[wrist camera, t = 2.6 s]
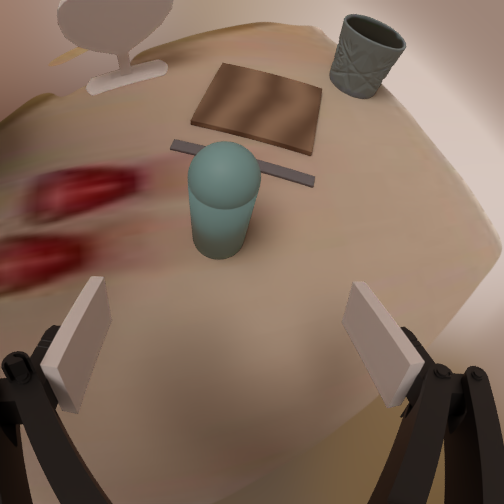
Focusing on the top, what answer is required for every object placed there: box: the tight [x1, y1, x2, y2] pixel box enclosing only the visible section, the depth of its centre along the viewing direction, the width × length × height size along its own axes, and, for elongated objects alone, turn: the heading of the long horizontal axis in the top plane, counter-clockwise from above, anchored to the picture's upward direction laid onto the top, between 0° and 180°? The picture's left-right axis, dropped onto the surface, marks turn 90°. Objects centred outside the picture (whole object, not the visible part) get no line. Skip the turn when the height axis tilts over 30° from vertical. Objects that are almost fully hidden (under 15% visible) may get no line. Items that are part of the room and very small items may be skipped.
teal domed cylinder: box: [188, 141, 261, 259], centre depth 27 cm, size 6×6×14 cm
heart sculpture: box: [57, 0, 173, 96], centre depth 32 cm, size 16×5×18 cm, turn 112°
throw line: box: [170, 139, 315, 188], centre depth 37 cm, size 18×2×1 cm, turn 76°
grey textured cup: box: [330, 14, 406, 99], centre depth 41 cm, size 10×10×12 cm
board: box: [191, 63, 322, 156], centre depth 41 cm, size 16×14×1 cm
